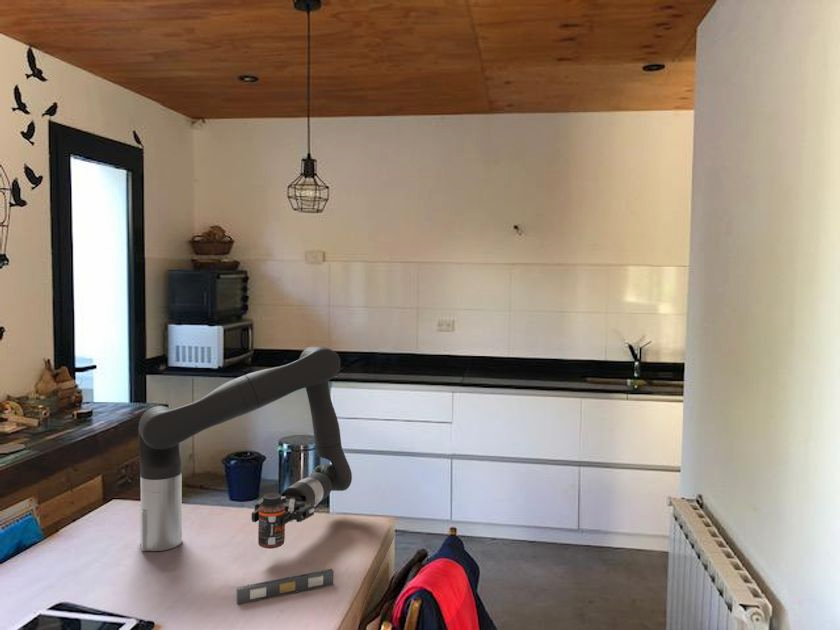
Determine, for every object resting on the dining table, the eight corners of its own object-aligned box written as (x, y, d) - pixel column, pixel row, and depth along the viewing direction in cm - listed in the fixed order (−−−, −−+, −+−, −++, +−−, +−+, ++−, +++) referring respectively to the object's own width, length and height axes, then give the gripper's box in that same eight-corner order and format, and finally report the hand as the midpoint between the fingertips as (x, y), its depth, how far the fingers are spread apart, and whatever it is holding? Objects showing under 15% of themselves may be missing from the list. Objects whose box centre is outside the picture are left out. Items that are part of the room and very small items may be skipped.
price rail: (237, 605, 130) (237, 590, 130) (236, 601, 131) (236, 587, 131) (333, 585, 139) (334, 571, 139) (331, 582, 140) (331, 568, 140)
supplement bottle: (278, 551, 146) (278, 501, 145) (253, 548, 147) (253, 498, 146) (288, 540, 151) (289, 492, 151) (264, 537, 153) (265, 490, 152)
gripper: (277, 478, 164) (238, 499, 148) (329, 485, 160) (294, 508, 144) (277, 507, 165) (238, 531, 149) (328, 515, 160) (294, 541, 144)
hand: (266, 519), depth 146 cm, fingers closed on supplement bottle, 6 cm apart
